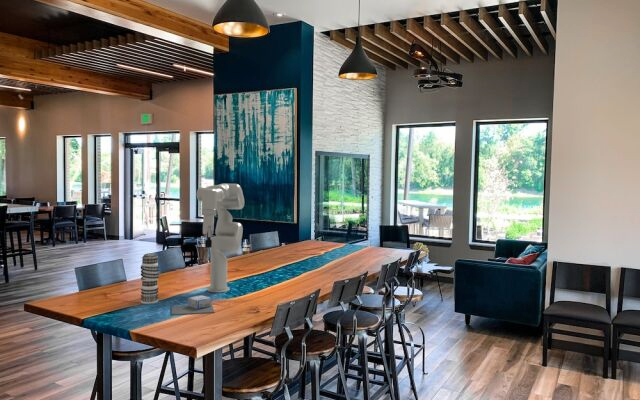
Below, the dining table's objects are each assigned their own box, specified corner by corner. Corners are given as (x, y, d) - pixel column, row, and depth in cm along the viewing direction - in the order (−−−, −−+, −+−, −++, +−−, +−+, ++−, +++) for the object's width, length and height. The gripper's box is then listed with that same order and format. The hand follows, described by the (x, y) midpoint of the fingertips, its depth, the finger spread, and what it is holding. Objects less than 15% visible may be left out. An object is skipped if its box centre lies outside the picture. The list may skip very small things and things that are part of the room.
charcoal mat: (171, 307, 240) (171, 306, 240) (212, 305, 246) (212, 304, 246) (171, 315, 226) (171, 314, 226) (214, 312, 232) (214, 311, 232)
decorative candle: (136, 303, 244) (137, 255, 243) (145, 298, 254) (146, 252, 252) (153, 304, 243) (154, 256, 242) (161, 299, 252) (162, 253, 251)
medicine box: (200, 294, 247) (211, 297, 241) (200, 303, 247) (211, 306, 241) (187, 297, 240) (198, 300, 235) (187, 306, 241) (198, 309, 235)
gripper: (200, 211, 255) (200, 245, 256) (202, 213, 240) (201, 249, 241) (215, 211, 257) (214, 245, 258) (217, 213, 243) (216, 249, 244)
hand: (208, 247), depth 250 cm, fingers closed
